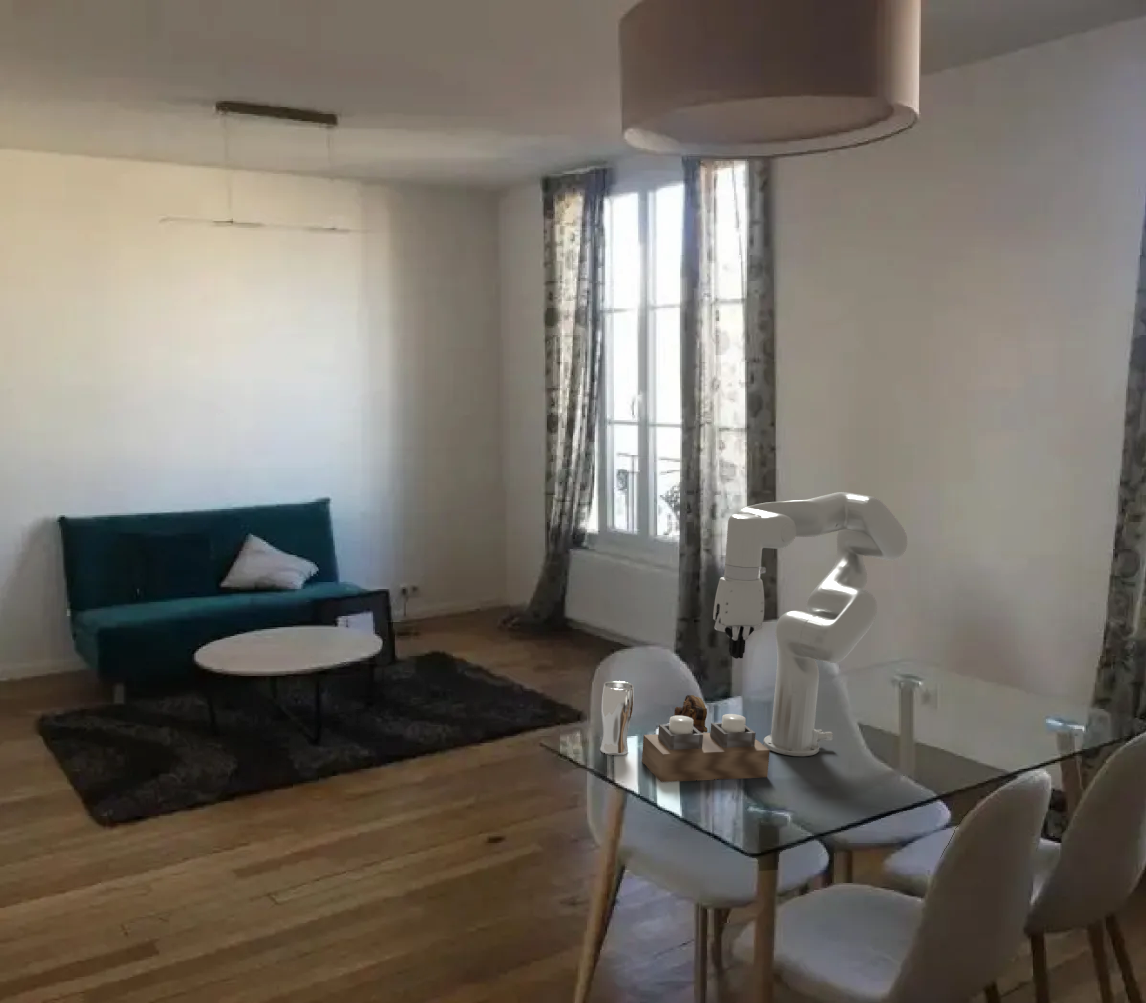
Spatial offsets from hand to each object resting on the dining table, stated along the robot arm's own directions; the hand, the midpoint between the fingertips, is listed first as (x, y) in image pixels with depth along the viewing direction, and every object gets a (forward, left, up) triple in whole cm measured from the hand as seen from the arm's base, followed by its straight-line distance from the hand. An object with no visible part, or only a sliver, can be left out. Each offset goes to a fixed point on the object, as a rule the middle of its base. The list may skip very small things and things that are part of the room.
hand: (736, 656), depth 254 cm
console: (+6, +2, -24) cm, 25 cm away
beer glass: (+22, -11, -24) cm, 35 cm away
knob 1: (+12, +2, -18) cm, 22 cm away
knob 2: (0, +2, -18) cm, 18 cm away
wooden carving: (+2, -17, -25) cm, 30 cm away
